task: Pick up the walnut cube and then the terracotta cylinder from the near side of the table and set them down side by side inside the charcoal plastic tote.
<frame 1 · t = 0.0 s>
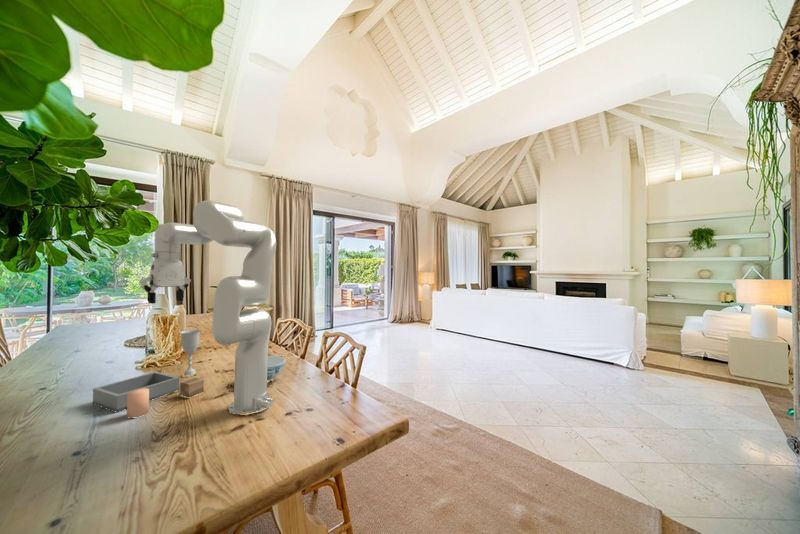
hand: (166, 301, 117), 31 cm above the table, tool pointing down, fingers open, 9 cm apart
chalice: (189, 375, 126), on the table
terracotta cylinder: (138, 414, 93), on the table
tote: (138, 397, 105), on the table
chinaware: (265, 381, 122), on the table
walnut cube: (191, 395, 107), on the table
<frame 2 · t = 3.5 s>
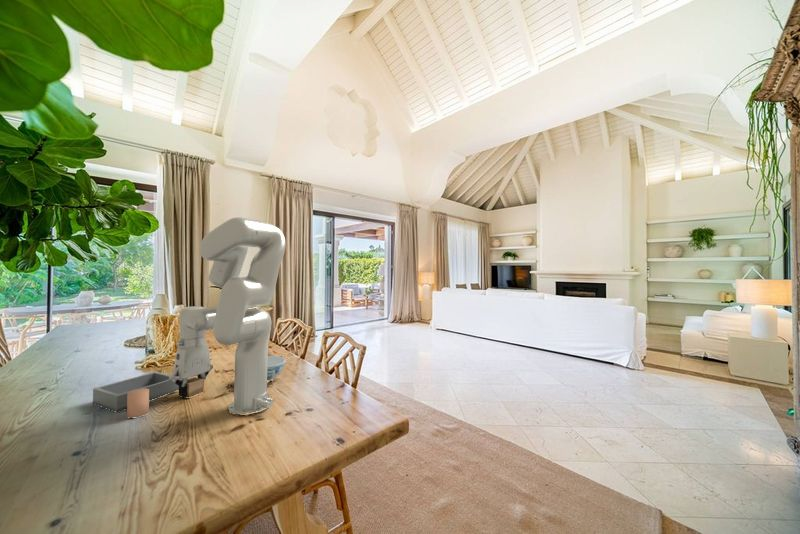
hand: (191, 393, 107), 0 cm above the table, tool pointing down, fingers closed on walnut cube, 5 cm apart
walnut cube: (191, 394, 107), on the table, touching gripper
everything else where it was.
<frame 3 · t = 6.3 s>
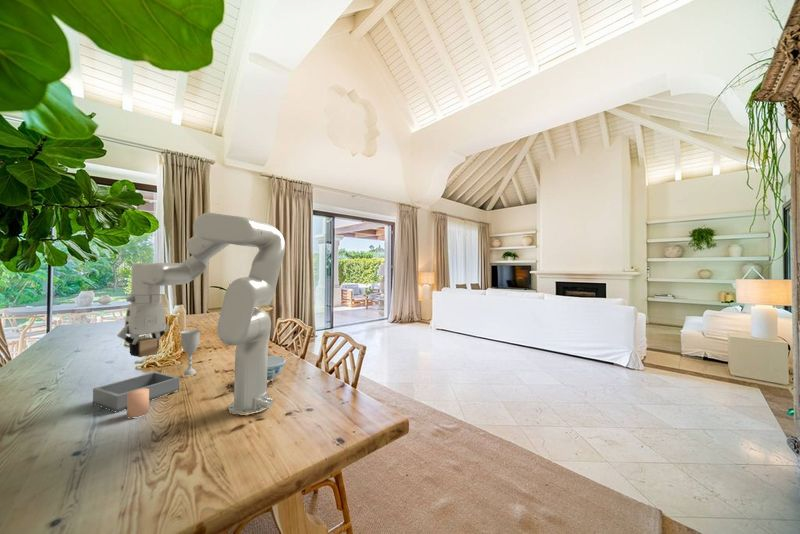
hand: (144, 352, 104), 16 cm above the table, tool pointing down, fingers closed on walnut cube, 5 cm apart
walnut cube: (144, 354, 104), point 15 cm above the table, touching gripper
everything else where it was.
when the fingers open (3 cm above the table, at t = 9.0 s): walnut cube drops 1 cm, resting on tote.
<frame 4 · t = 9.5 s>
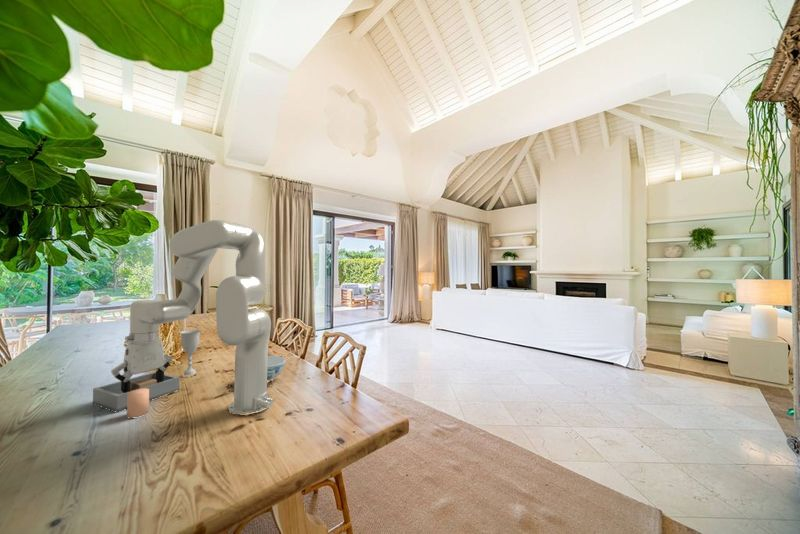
hand: (143, 387, 104), 4 cm above the table, tool pointing down, fingers open, 9 cm apart
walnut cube: (143, 395, 104), point 1 cm above the table, touching tote
everything else where it was.
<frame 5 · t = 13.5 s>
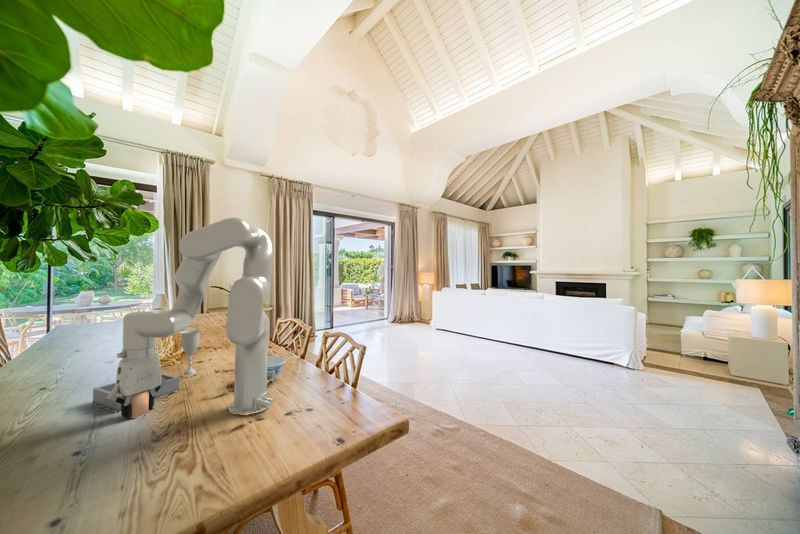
hand: (138, 412, 93), 1 cm above the table, tool pointing down, fingers closed on terracotta cylinder, 4 cm apart
terracotta cylinder: (137, 414, 93), on the table, touching gripper
everything else where it was.
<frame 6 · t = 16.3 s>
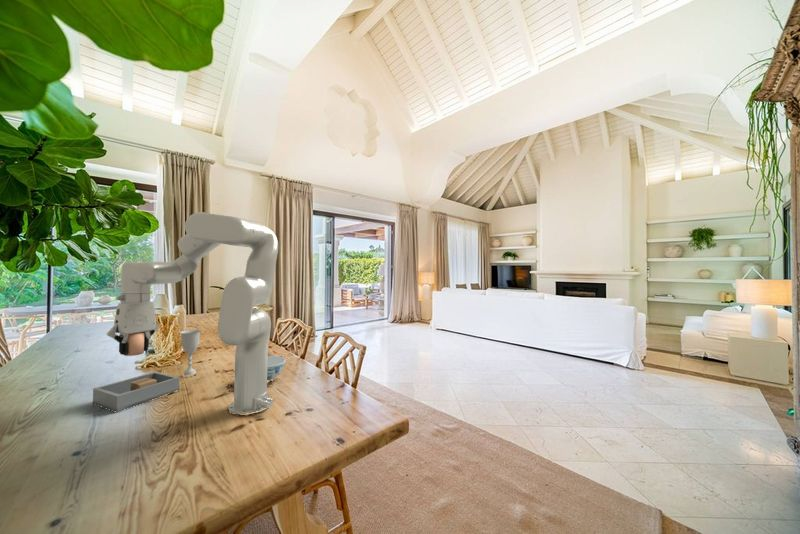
hand: (134, 351, 103), 16 cm above the table, tool pointing down, fingers closed on terracotta cylinder, 4 cm apart
terracotta cylinder: (134, 353, 103), point 15 cm above the table, touching gripper
everything else where it was.
when the fingers open (3 cm above the table, at t = 19.4 s): terracotta cylinder drops 1 cm, resting on tote.
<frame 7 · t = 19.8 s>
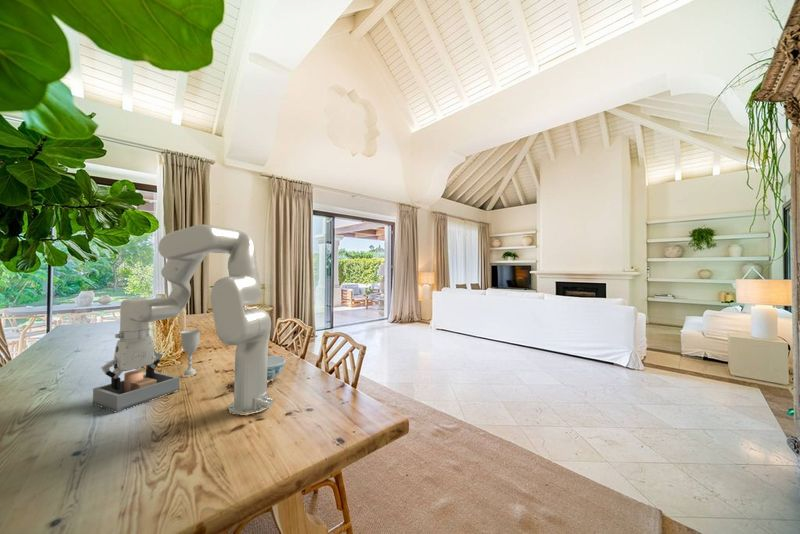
hand: (133, 384, 106), 4 cm above the table, tool pointing down, fingers open, 9 cm apart
terracotta cylinder: (133, 392, 106), point 1 cm above the table, touching tote
everything else where it was.
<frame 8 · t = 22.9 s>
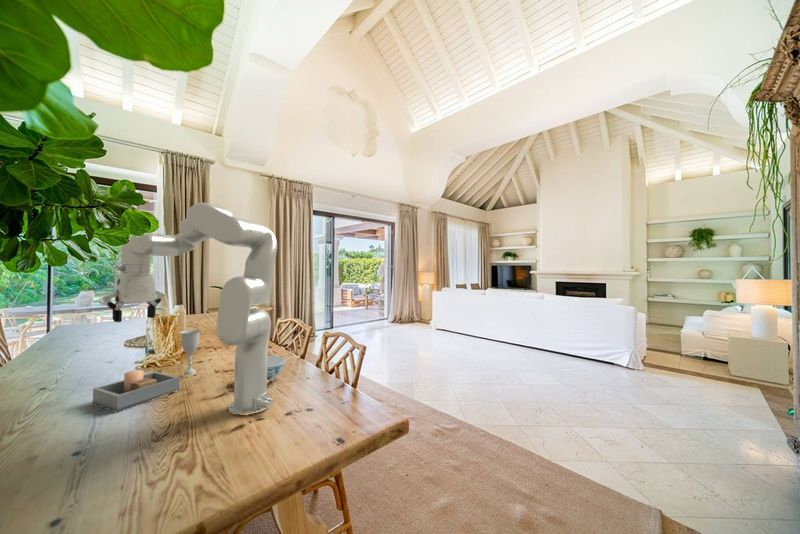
hand: (134, 319, 106), 26 cm above the table, tool pointing down, fingers open, 9 cm apart
nothing on the table moved.
at the end: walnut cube inside the target area on the tote (2.9 cm from its centre), point 1.0 cm above the tote's base; terracotta cylinder inside the target area on the tote (2.9 cm from its centre), point 1.0 cm above the tote's base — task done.
